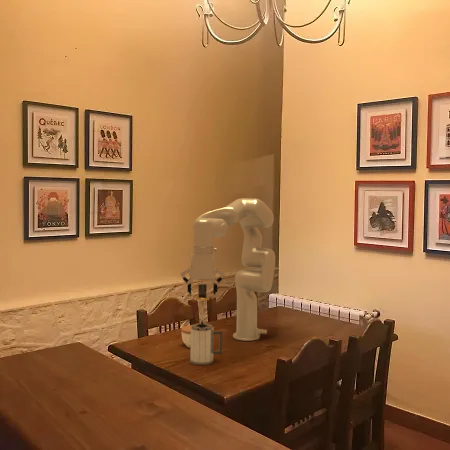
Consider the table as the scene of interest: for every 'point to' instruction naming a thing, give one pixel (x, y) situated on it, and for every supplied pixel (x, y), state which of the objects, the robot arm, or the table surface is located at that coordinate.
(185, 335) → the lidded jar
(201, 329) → the cafetiere
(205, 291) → the plunger
